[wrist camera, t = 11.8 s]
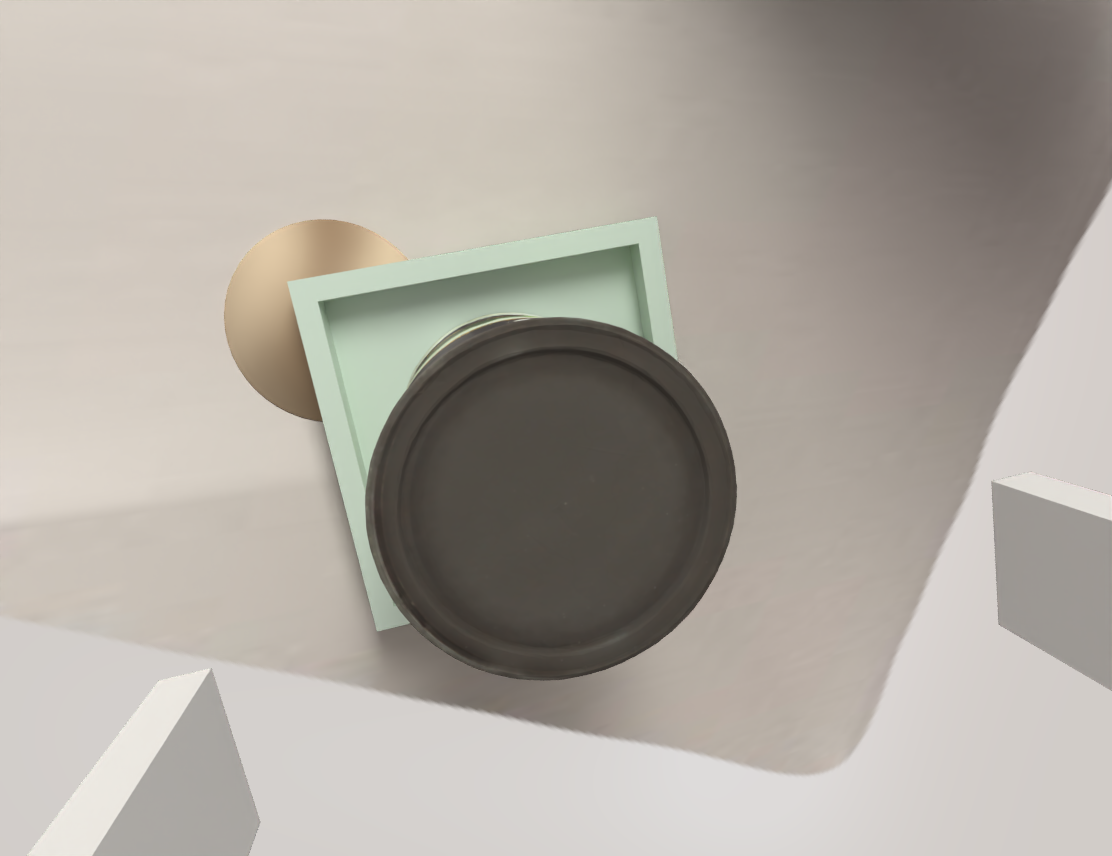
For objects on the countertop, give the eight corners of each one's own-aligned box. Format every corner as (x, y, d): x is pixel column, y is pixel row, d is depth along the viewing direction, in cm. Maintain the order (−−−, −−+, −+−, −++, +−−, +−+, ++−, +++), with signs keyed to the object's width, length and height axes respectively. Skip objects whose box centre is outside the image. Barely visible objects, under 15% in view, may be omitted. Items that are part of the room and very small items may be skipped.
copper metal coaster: (408, 205, 31) (408, 203, 31) (450, 399, 33) (450, 400, 32) (203, 239, 30) (199, 238, 29) (257, 437, 32) (254, 440, 31)
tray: (643, 221, 32) (656, 216, 30) (690, 538, 36) (705, 552, 34) (297, 283, 30) (286, 281, 28) (380, 611, 34) (376, 631, 32)
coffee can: (471, 267, 31) (494, 238, 17) (656, 384, 33) (806, 441, 20) (356, 461, 32) (290, 582, 18) (545, 562, 34) (614, 738, 20)
